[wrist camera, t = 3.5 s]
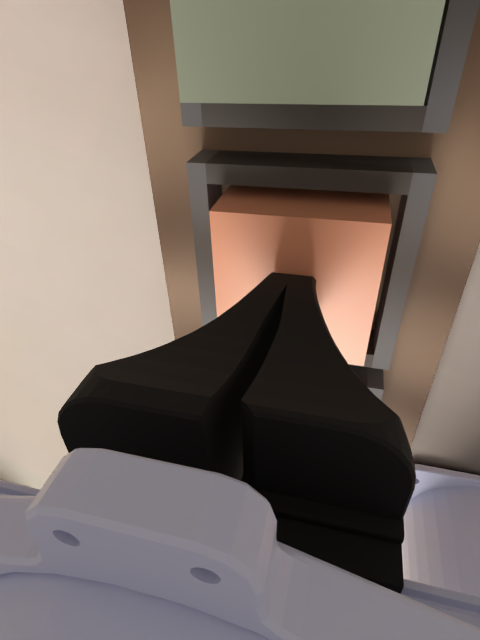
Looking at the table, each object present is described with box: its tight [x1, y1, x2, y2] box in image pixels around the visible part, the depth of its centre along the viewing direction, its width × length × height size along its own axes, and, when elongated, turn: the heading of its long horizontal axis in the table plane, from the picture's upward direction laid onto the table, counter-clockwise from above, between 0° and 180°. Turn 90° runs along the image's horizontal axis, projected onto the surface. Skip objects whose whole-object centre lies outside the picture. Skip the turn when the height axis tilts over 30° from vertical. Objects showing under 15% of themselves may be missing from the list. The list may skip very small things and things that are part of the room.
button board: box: [123, 0, 480, 446], centre depth 15 cm, size 24×11×3 cm, turn 2°
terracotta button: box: [209, 185, 392, 366], centre depth 14 cm, size 5×5×2 cm
